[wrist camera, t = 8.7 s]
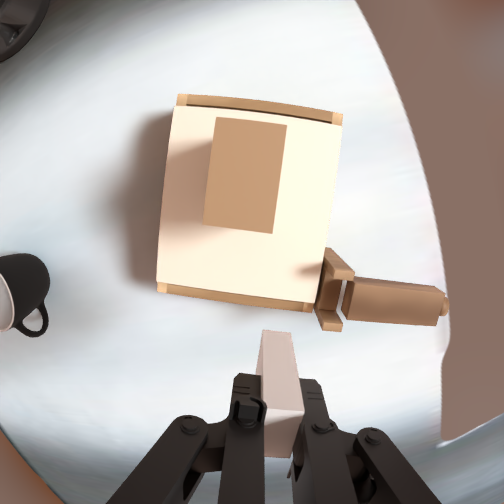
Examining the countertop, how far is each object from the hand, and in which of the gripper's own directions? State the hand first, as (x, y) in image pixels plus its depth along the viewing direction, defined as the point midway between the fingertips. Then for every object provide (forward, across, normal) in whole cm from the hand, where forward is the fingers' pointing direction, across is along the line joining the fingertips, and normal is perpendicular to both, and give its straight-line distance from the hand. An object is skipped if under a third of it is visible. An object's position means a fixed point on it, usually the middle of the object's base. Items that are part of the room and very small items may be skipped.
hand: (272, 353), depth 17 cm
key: (+14, +13, 0) cm, 19 cm away
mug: (+21, -32, -8) cm, 39 cm away
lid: (+15, -3, +7) cm, 17 cm away
